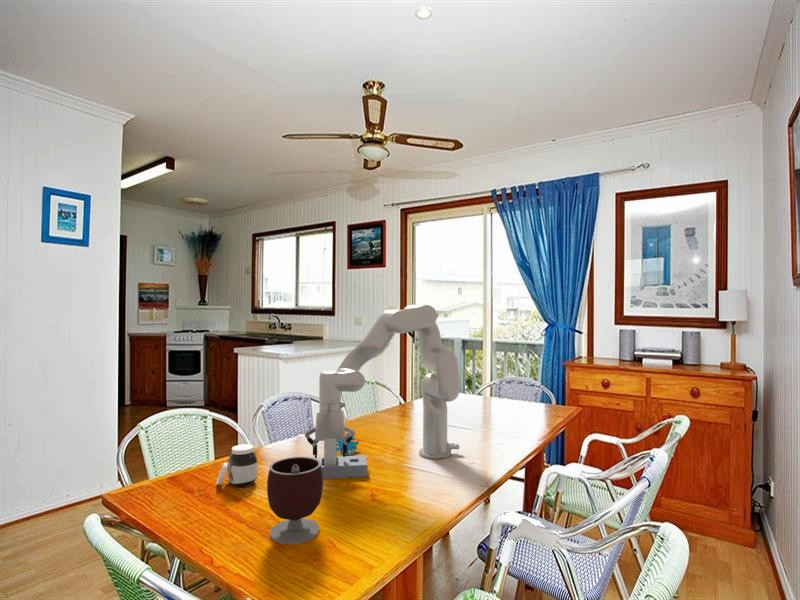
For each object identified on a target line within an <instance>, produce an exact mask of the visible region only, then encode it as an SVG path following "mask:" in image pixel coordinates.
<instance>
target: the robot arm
mask: <svg viewBox="0 0 800 600" xmlns="http://www.w3.org/2000/svg"><path fill="white" fill-rule="evenodd" d="M437 319H438V313H437V310H436V309H435V307H433V306H432V305H429V304H409V305H407V306H405V307H404V308H403V309H387V310H384V311H383V312H382V313H380V315H379V316H378V318H377V319H376V320H375V322H374V323H373V325H372V326H371V328H370V329H369V331H368V332H367V335H366V336H365V337H364V338H363V339H362V341H361V342H360V343H358V344H357V346H355V347H354V348H353V349H352V350H351V351H349V353H348V354H347V355H346V356H345V357H344V359H343V360H342V362H341V363H340V365H339V366H338V368H337V370H325V371H322V372H320V374H319V382H318V383H319V387H318V388H319V393H318V394H319V395H318V396H319V398H318V399H319V403H318V404H319V407H318V410H316V411H317V412H316V416H315V427H313V428H311V429H309V430H307V431H306V432H304V437H305V438H306V440H307V442H308V443H309V444H310V445H311V446H312V456H314V458H315V459H318V443H319V442H324V439H336V440H341V441H342V442H343V450H342V451H343V455H342V456H343V457H345V456H346V454H347V445H348V443H349V442H350V441H352V438H353V437H354V436H355V434H356V431H355V430H353V429H351V428H349V427H347V426H345V425H346V424H345V421H346V420H345V413H344V410H343V409H342V408H345V407H346V403H345V402H342V392H348V393H350V392H351V393H355V392H358V391H360V390H362V389H363V388H364V386H365V384H366V379H365V376H364V375H363V373H362V372H360V370H361V368H362V367H363V366H364V365H365V364H366V363H368V362H370V361H371V360H373V359H375V358H377V357H379V356H381V355H382V354H383V353H384V351H385V350H386V349H387V347H388V346H389V344H390V342H391V340H392V339H393V338H394V336H395V335H396V334H407V333H412V332H416V333H417V336H418V340H419V349H420V359H421V364H422V366H423V367H424V369H426V370H429V371H431V373H427V374H425V375H424V376H423V377H422V380H421V382H420V383H421V384H420V392H421V396H422V397H421V398H422V448H420V449H419V451H418V454H419V456H420V457H422V458H426V459H431V460H440V459H446V458H449V457H451V455H452V450H460V444H456V443H455V442H451V443H449V442H448V404H447V403H450V402H454V401H455V400H456V399H457V398H458V397H459V393H460V390H461V389H460V388H461V385H460V384H461V382H460V373H459V364H458V358H457V356H456V354H455V353H454V351H453V350H451V349H450V348H448V347H443V343H442V338H441V332H440V331H441V330H440V329H439V327H438V324H437V323H436V322H437ZM346 433H347V434H348V433H349V434H350V436H349V437H348V438H347V439H346V438H345V437H346V436H345V435H346ZM312 434H314V436H315V438H314V439H313V438H312V436H311V435H312Z"/></svg>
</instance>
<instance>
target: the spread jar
mask: <svg viewBox="0 0 800 600" xmlns="http://www.w3.org/2000/svg"><path fill="white" fill-rule="evenodd" d="M254 448H255V447H254V445H252V444H250V443H247V444H246V443H242V444H238V445H237V444H236V445H234V446H232V447H231V454H230V455H229V456H228V458H227V462H223V464H222V465H221V467H220V470H219V473H218V477H217V480H216V485H218V486H221V485H222V484H223V483H224V482H223V481H224V479H225V476H226V473H227V479H228V482H229V484H230V485H231V487H234V486H235V488H243V486H244V487H248V486H250V485H252V484H254V483H255V482H256V481H257V479H258V458H257V456H256V454H255V452H254Z"/></svg>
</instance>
